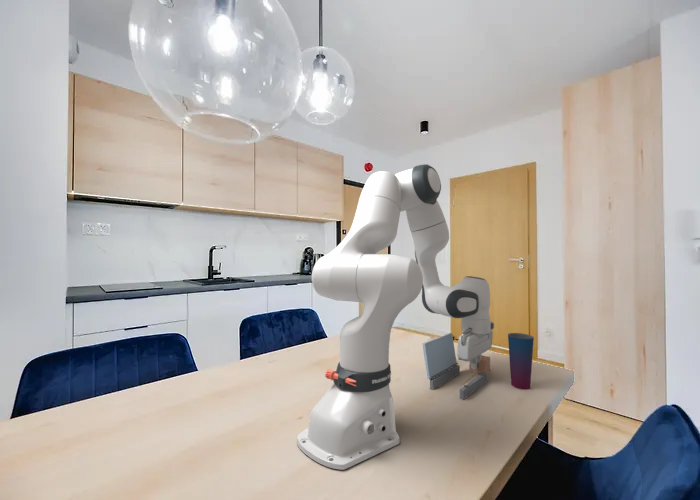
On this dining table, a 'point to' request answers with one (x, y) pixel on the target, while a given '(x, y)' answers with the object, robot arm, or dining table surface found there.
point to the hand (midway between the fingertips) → (475, 368)
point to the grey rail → (467, 388)
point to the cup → (520, 359)
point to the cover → (439, 355)
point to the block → (482, 365)
